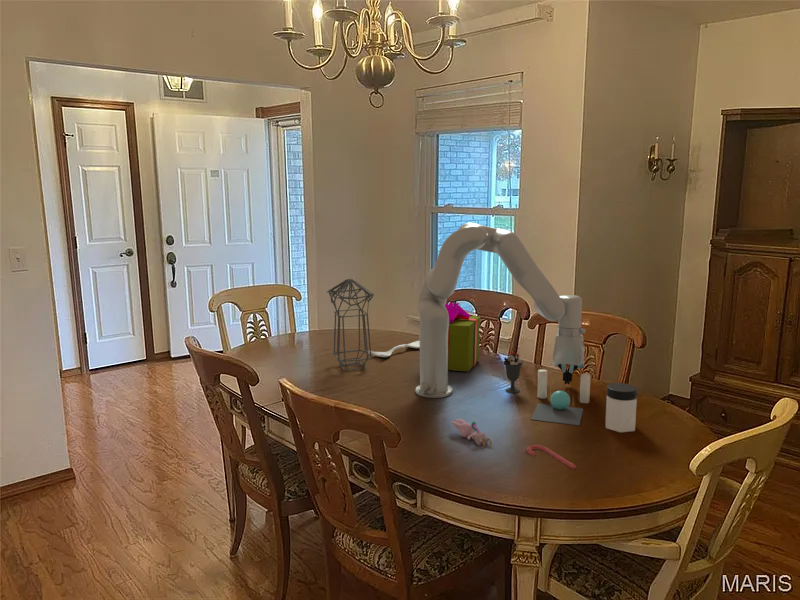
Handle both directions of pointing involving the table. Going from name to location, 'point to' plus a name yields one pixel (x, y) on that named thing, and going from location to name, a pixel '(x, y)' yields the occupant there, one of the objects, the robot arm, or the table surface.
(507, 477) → the table surface
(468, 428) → the pink elongated figure
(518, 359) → the sundae
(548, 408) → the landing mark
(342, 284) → the geometric lantern
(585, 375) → the right post
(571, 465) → the candy cane
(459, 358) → the gift box
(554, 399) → the ball
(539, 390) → the left post
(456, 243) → the robot arm
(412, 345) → the spoon
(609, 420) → the jar
